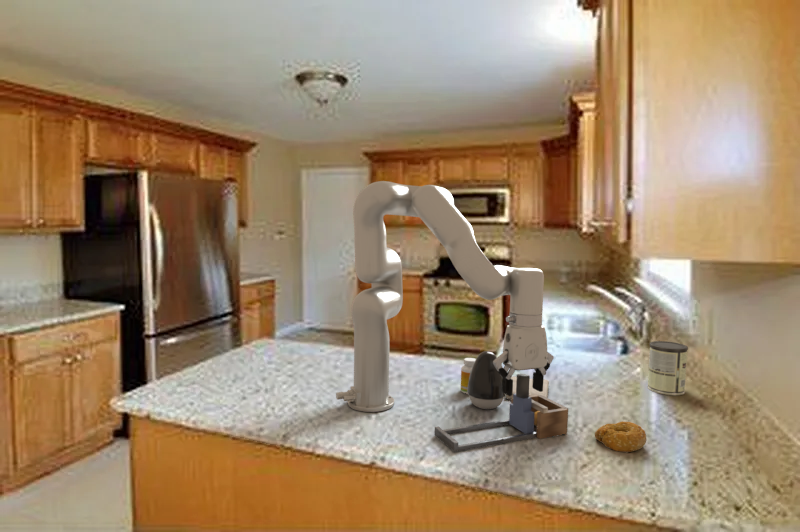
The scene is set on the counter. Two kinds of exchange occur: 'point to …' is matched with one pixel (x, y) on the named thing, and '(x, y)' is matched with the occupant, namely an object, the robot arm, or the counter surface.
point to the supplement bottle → (466, 373)
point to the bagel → (622, 436)
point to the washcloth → (531, 388)
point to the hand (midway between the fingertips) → (522, 391)
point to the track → (454, 446)
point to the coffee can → (667, 367)
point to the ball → (535, 418)
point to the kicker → (522, 406)
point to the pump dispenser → (485, 382)
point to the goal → (549, 416)
